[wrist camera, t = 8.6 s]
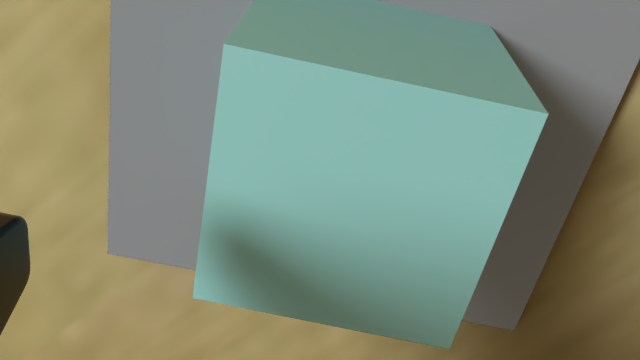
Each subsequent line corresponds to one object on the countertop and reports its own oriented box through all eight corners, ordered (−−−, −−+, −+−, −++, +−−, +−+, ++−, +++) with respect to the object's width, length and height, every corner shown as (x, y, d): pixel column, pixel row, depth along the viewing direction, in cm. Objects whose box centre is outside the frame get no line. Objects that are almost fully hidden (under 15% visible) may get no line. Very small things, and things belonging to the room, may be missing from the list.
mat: (113, 245, 18) (107, 253, 17) (121, -244, 12) (113, -248, 12) (511, 321, 18) (514, 330, 18) (711, -119, 12) (721, -117, 12)
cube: (240, 171, 16) (192, 297, 11) (270, -23, 13) (223, 43, 9) (427, 210, 16) (449, 349, 12) (490, 25, 14) (549, 113, 9)
